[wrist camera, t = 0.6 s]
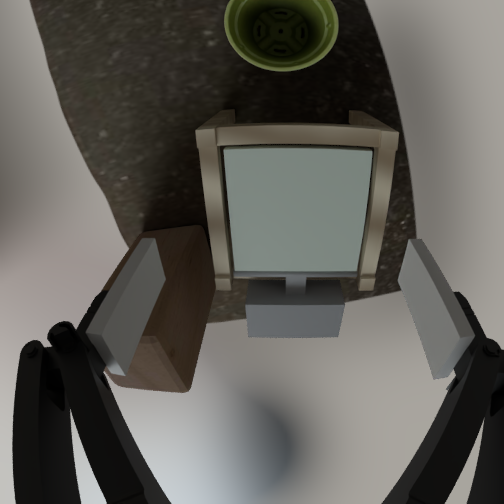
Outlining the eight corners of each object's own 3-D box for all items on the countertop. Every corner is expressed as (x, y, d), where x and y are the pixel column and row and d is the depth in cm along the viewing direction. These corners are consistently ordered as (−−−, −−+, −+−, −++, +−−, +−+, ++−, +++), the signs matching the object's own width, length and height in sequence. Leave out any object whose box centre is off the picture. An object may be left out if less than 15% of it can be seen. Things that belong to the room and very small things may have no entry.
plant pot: (323, 73, 29) (338, 74, 22) (237, 71, 30) (225, 72, 22) (323, -1, 24) (337, -22, 16) (236, -3, 24) (223, -24, 17)
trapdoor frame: (221, 110, 32) (195, 130, 22) (361, 110, 31) (398, 132, 21) (231, 230, 41) (216, 290, 31) (351, 231, 40) (372, 290, 30)
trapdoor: (226, 142, 26) (217, 154, 22) (366, 144, 25) (380, 156, 21) (241, 311, 37) (237, 336, 33) (343, 311, 36) (348, 336, 32)
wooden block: (204, 220, 41) (156, 336, 24) (220, 279, 46) (192, 397, 29) (139, 229, 42) (71, 332, 26) (160, 283, 48) (115, 389, 31)
